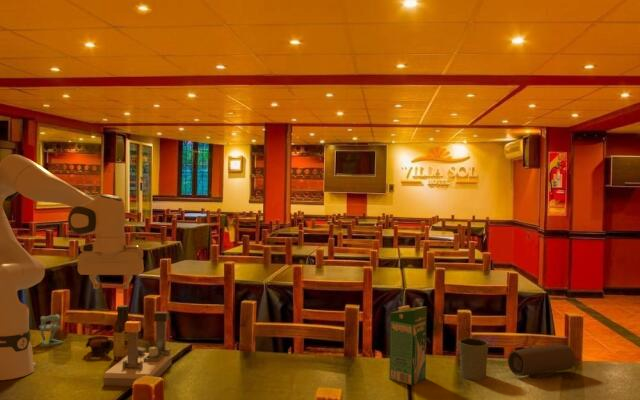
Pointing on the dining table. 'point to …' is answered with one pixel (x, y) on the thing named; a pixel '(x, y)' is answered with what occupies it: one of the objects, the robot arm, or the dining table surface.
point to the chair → (48, 327)
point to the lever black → (161, 331)
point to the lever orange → (132, 343)
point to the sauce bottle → (121, 334)
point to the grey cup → (473, 358)
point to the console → (146, 367)
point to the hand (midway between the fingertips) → (111, 288)
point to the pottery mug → (99, 346)
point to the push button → (153, 352)
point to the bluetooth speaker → (541, 360)
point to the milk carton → (408, 344)
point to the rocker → (141, 350)
